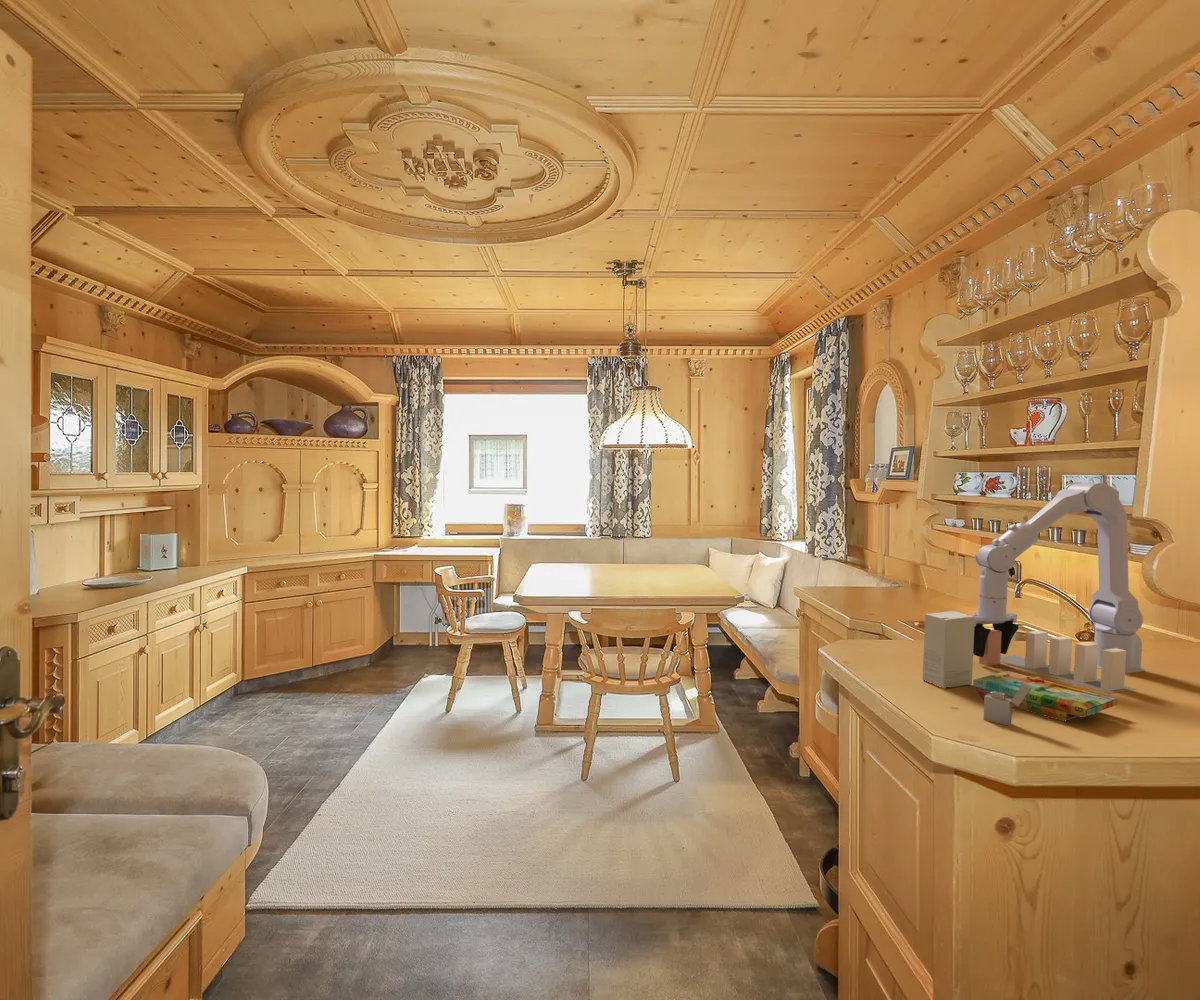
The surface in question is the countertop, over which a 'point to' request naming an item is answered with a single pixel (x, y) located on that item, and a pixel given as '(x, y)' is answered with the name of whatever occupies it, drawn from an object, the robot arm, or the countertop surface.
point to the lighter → (1003, 705)
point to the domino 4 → (1085, 662)
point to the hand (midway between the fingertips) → (989, 654)
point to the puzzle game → (1045, 695)
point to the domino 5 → (1113, 669)
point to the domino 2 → (1036, 649)
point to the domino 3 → (1060, 655)
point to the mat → (1095, 685)
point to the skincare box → (948, 649)
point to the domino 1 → (992, 649)
